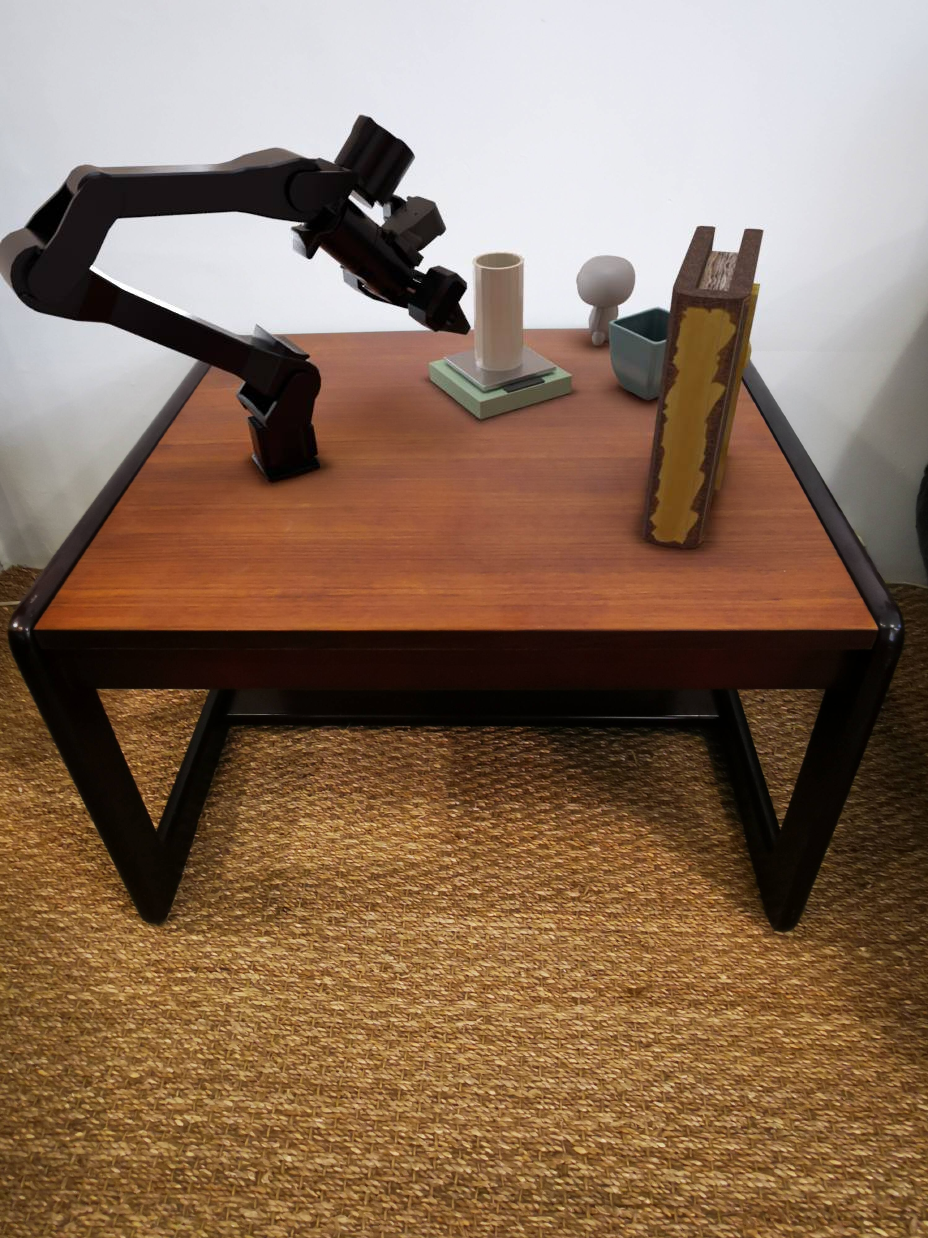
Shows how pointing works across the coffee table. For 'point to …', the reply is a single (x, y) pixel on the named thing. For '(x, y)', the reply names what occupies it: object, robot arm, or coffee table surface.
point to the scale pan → (493, 379)
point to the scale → (499, 390)
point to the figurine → (604, 291)
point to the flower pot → (639, 350)
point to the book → (699, 385)
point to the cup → (498, 310)
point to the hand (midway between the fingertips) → (445, 319)
